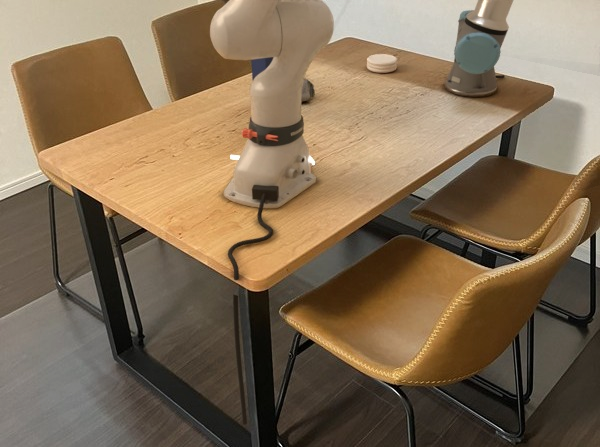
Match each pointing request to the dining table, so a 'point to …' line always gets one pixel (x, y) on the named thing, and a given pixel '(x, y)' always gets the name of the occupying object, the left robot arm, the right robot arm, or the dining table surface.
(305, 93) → the rock
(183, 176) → the dining table surface
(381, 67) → the coaster
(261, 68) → the brick
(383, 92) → the dining table surface
